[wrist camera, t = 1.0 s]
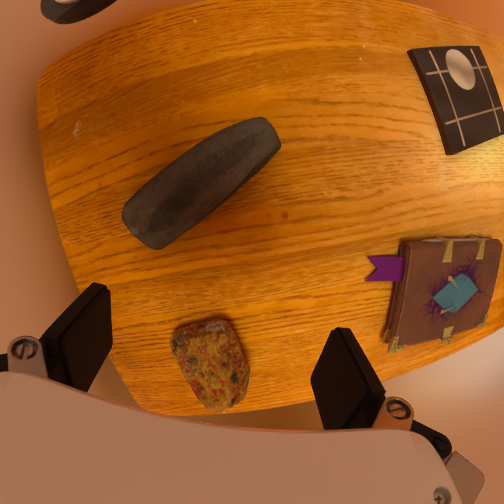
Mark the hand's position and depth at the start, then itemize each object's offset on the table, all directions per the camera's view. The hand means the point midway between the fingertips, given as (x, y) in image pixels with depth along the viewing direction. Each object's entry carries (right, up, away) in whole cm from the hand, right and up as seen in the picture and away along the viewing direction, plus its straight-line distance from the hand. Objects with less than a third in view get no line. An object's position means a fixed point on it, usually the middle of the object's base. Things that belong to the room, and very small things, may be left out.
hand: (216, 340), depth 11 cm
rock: (-3, -9, +24) cm, 26 cm away
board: (+30, +25, +13) cm, 41 cm away
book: (+27, -2, +22) cm, 35 cm away
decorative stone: (-4, +11, +17) cm, 20 cm away
